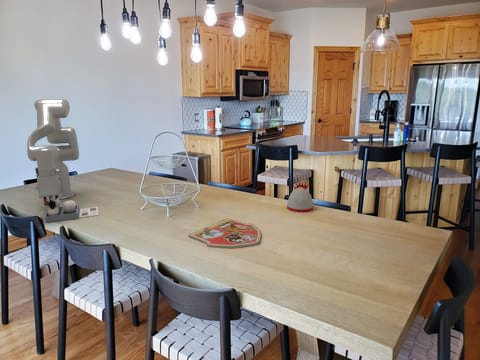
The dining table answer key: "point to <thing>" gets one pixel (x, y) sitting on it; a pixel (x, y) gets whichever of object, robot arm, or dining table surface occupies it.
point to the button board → (63, 215)
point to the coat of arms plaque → (228, 234)
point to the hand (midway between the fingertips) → (52, 208)
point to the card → (88, 212)
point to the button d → (68, 205)
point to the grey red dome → (300, 199)
